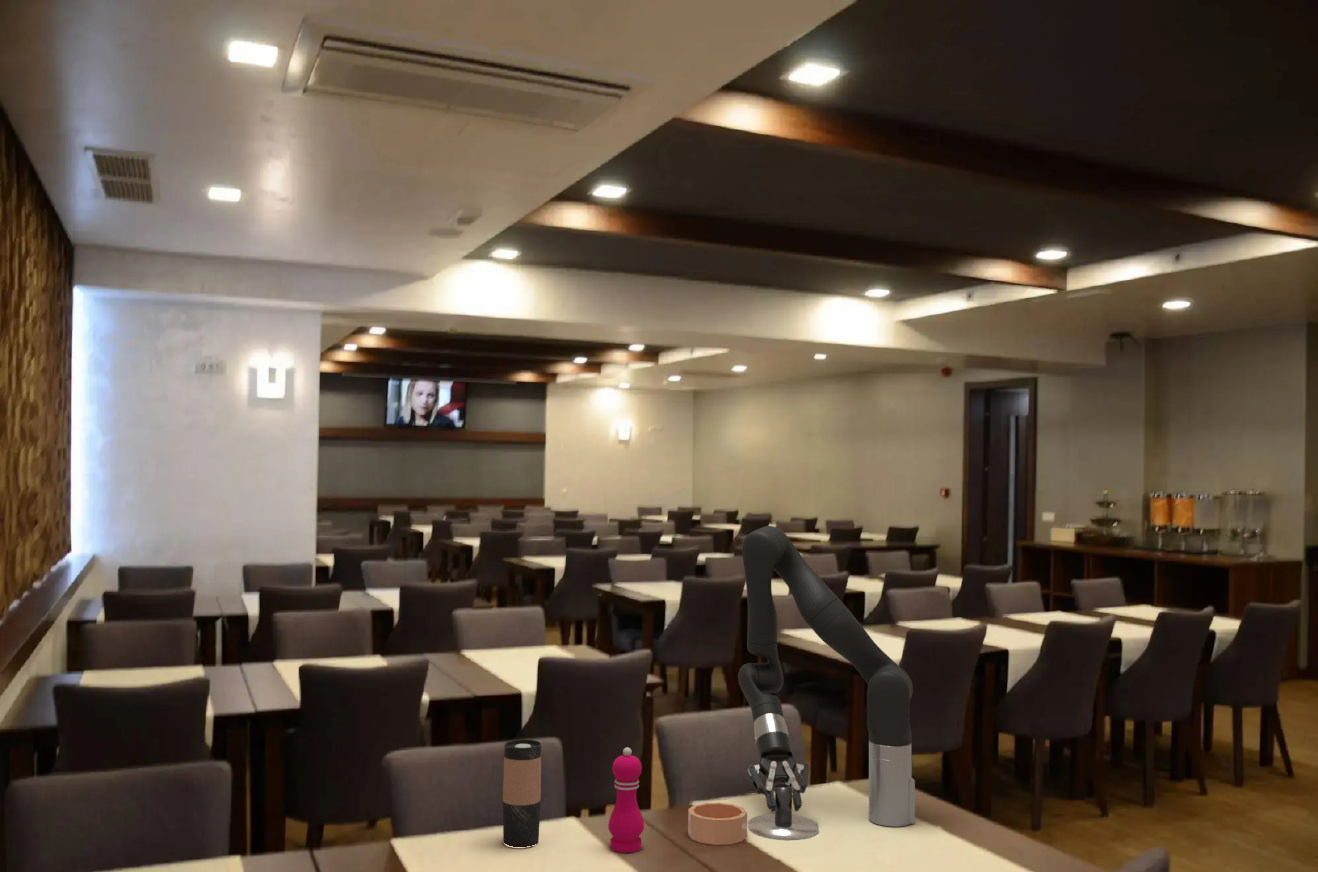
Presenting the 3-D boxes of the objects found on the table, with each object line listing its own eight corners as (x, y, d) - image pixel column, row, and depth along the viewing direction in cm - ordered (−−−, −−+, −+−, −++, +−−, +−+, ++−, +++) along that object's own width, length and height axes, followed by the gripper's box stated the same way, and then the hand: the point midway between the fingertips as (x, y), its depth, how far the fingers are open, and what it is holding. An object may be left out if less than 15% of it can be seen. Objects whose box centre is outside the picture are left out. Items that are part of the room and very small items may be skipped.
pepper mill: (645, 842, 216) (647, 743, 217) (641, 854, 209) (643, 752, 210) (610, 841, 217) (612, 742, 218) (605, 853, 210) (607, 751, 211)
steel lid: (807, 818, 235) (807, 776, 236) (827, 840, 220) (827, 795, 221) (741, 820, 233) (742, 777, 234) (757, 842, 218) (757, 797, 219)
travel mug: (546, 840, 217) (548, 741, 218) (526, 851, 210) (528, 749, 211) (515, 834, 220) (517, 737, 221) (494, 845, 213) (496, 745, 214)
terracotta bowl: (739, 825, 229) (739, 801, 229) (751, 843, 217) (751, 818, 217) (684, 826, 227) (684, 803, 227) (694, 845, 215) (694, 820, 215)
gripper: (743, 730, 234) (755, 801, 222) (806, 729, 236) (821, 799, 224) (738, 748, 239) (750, 819, 227) (800, 747, 241) (814, 817, 229)
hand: (785, 809), depth 225 cm, fingers open, 4 cm apart
